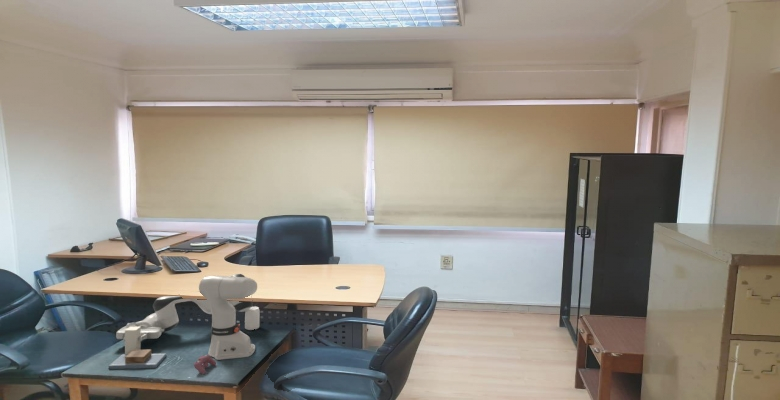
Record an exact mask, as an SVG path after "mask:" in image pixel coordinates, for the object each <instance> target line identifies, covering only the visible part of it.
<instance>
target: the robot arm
mask: <svg viewBox="0 0 780 400" xmlns="http://www.w3.org/2000/svg"><path fill="white" fill-rule="evenodd" d="M198 290H199V291H198V292H200V293H201V294H202V295H203V296H204V297H205V298H206V299H207V300H197V299H183V298H182V297H180V296H174V295H164V296H160V297H158V298H156V299H155V300H154V302H153V304H152V308H153V310H154V313H151V314H150V315H147V316H146V317H145V318H144V319H142V320H140V321H139V320H138V321H136V322H127V324H126V325H125V326H122V327H121V328H120V329H118V330H117V331H116V333H115V334H116V339H117V340H123V342H125V330H126V329H128V328H129V327H141V336H139V337H138V341H141V342H142V341H143V340H146V339H150V340H151V339H153V340H154V339H155V340H156V339H159V337H161V335H162V333H165V332H168V331H171V330H172V329H174V328H176V327H177V326H178V324H179V322H180V320H179V316H178V313H177V308H176V306H175V305H176V304H179V303H184V302H193V303H195V304H196V305H197V306H198V307H199V308H200V309H201V310H202V311H203V312H204V313H206V314H208V315H211V321H212V322H211V328H210V336H211V337H210V338H211V341H210V346H209V349H208V353H207V355H208V356H210V357H211V358H214V360H215V359H216V360H229V359H239V358H240V359H241V358H249V357H250V356H252V355H253V354H254V353H255V350H256V345H255V344H254V343H252V341H251V338H250V336H249V335H247V334H246V333H244V332H243V331H241V330H240V325H241V324H240V323H239V324H238V323H236V319H237V318H236V316H237V315H236V313H237V312H239V313H240V312H242V313H243V312H245V311H246V310H248V309H249V308H251V307H252V306H253V304H254V301H253V302H239V301H227V299H243V298H245V297H248V296H250V295H251V296H253V295H254V294H255V293H257V290H258V283H257V282H256V281H255V279H253V278H250V277H247V276H245V275H244V274H243V273H235V274H233V275H231V276H226V275H225V276H224V275H208V276H204V277H202V278H201V280H200V282H199V285H198Z"/></svg>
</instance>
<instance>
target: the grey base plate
mask: <svg viewBox="0 0 780 400" xmlns="http://www.w3.org/2000/svg"><path fill="white" fill-rule="evenodd" d="M166 357H167V353H166V352H165V353H164V352H163V353H152V349H148V348H147V349H141V350H133V351H132V352H131V353H129V354H125V353H122V354H121V355H119V357H117V358H116V359H115V360H114V361H113V362H111V363H110V364H109V365H108V369H109V370H123V369H156V368H158V366H159V365H160V364H161V363H162V362H163V361H164V359H165V358H166Z"/></svg>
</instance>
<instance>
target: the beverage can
mask: <svg viewBox="0 0 780 400" xmlns="http://www.w3.org/2000/svg"><path fill="white" fill-rule="evenodd" d="M244 312H245V314H244V328H245V330H247V331H252V330H254V329H255V330H257V329H259V328H260V313H261V311H260V307H259V306H256V305H255V306H253V305H252V307H251V308H249V309H248V310H246V311H244Z"/></svg>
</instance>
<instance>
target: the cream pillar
mask: <svg viewBox="0 0 780 400" xmlns="http://www.w3.org/2000/svg"><path fill="white" fill-rule="evenodd" d="M139 336H141V327H129V328H128V329H126V330H125V341H124V354H129V353H131V352H132V351H133V350H142V349H141V345H142V340H141V341H138V337H139Z"/></svg>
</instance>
